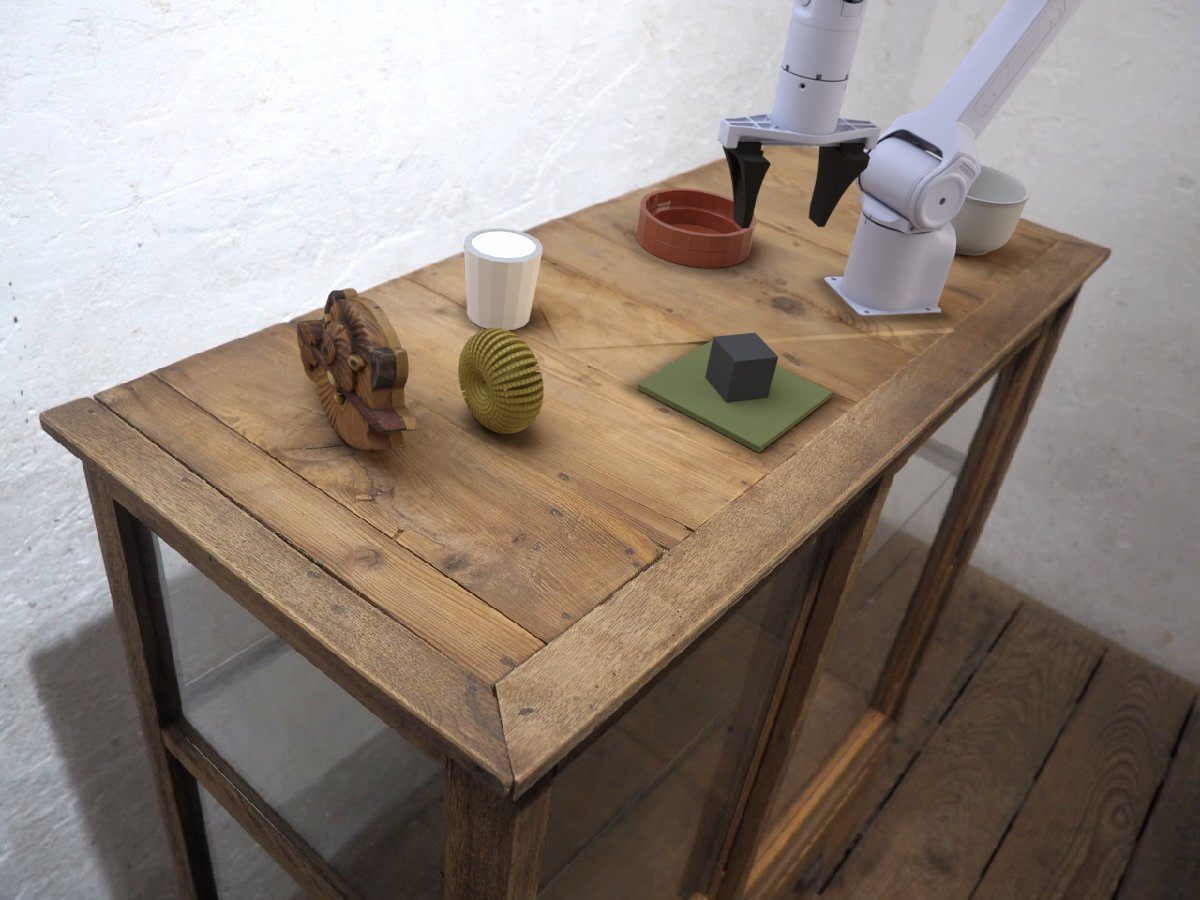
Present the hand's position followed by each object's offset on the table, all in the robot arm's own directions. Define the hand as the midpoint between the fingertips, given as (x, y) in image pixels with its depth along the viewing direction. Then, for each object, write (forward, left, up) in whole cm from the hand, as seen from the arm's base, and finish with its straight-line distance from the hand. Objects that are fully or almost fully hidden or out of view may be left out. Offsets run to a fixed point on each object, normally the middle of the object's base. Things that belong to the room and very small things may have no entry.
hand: (779, 223), depth 95 cm
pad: (+8, +13, -9) cm, 18 cm away
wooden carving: (+40, +14, -10) cm, 43 cm away
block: (+8, +13, -9) cm, 18 cm away
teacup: (-31, -15, -10) cm, 36 cm away
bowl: (+1, -15, -9) cm, 18 cm away
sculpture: (+29, +15, -10) cm, 34 cm away
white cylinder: (+25, -2, -10) cm, 27 cm away
